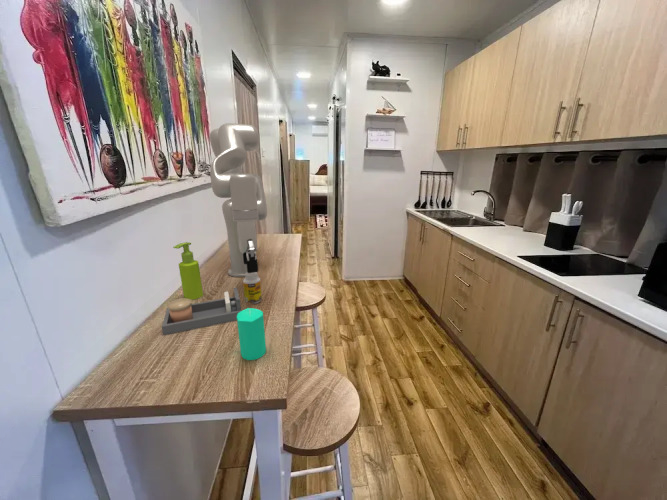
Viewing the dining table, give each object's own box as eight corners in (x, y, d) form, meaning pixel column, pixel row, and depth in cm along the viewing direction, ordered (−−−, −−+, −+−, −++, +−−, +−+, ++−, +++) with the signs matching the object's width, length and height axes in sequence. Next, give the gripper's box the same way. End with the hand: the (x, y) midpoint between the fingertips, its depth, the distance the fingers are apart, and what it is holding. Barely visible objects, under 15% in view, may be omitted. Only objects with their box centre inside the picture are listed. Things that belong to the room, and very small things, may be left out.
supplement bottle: (247, 306, 90) (245, 277, 87) (243, 300, 95) (240, 272, 92) (264, 302, 93) (262, 273, 90) (258, 296, 98) (256, 268, 95)
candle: (239, 348, 69) (234, 305, 66) (263, 342, 72) (260, 300, 68) (242, 363, 64) (237, 317, 61) (268, 356, 66) (264, 311, 63)
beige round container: (172, 318, 81) (169, 300, 79) (194, 314, 83) (191, 296, 81) (170, 329, 76) (166, 309, 74) (193, 324, 78) (190, 305, 76)
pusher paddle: (225, 306, 88) (224, 292, 86) (229, 305, 88) (228, 291, 87) (227, 319, 80) (225, 303, 79) (231, 318, 81) (230, 302, 79)
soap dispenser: (178, 302, 93) (167, 245, 87) (194, 293, 99) (185, 240, 94) (191, 304, 91) (181, 246, 86) (207, 296, 97) (199, 241, 92)
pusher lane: (169, 318, 83) (165, 297, 81) (238, 305, 91) (236, 286, 89) (164, 338, 73) (159, 314, 71) (242, 322, 81) (240, 300, 79)
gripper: (230, 213, 92) (236, 262, 96) (235, 219, 76) (241, 278, 81) (254, 211, 94) (258, 259, 99) (262, 218, 79) (267, 274, 84)
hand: (250, 267), depth 90 cm, fingers open, 9 cm apart
